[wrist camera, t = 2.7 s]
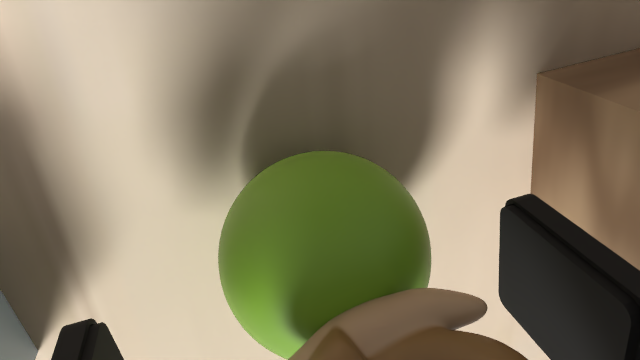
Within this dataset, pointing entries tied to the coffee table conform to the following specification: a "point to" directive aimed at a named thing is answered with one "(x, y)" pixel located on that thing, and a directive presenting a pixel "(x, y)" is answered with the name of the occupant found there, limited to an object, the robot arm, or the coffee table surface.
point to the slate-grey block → (13, 335)
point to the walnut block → (592, 148)
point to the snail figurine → (341, 268)
